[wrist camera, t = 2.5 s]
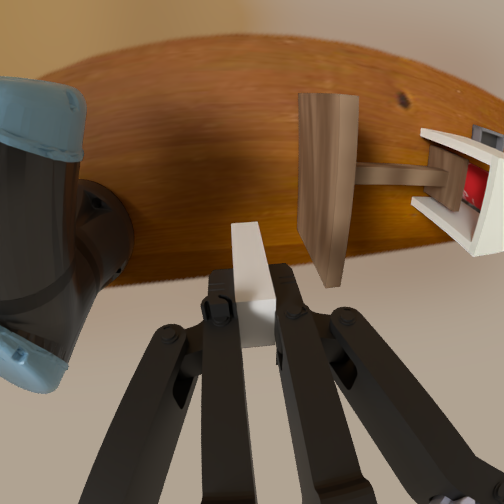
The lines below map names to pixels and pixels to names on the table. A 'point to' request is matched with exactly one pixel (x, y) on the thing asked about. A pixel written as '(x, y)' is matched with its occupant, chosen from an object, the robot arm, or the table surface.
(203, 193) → the table surface
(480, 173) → the beverage can
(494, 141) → the pit
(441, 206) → the tunnel
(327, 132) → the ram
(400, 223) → the table surface
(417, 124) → the table surface
